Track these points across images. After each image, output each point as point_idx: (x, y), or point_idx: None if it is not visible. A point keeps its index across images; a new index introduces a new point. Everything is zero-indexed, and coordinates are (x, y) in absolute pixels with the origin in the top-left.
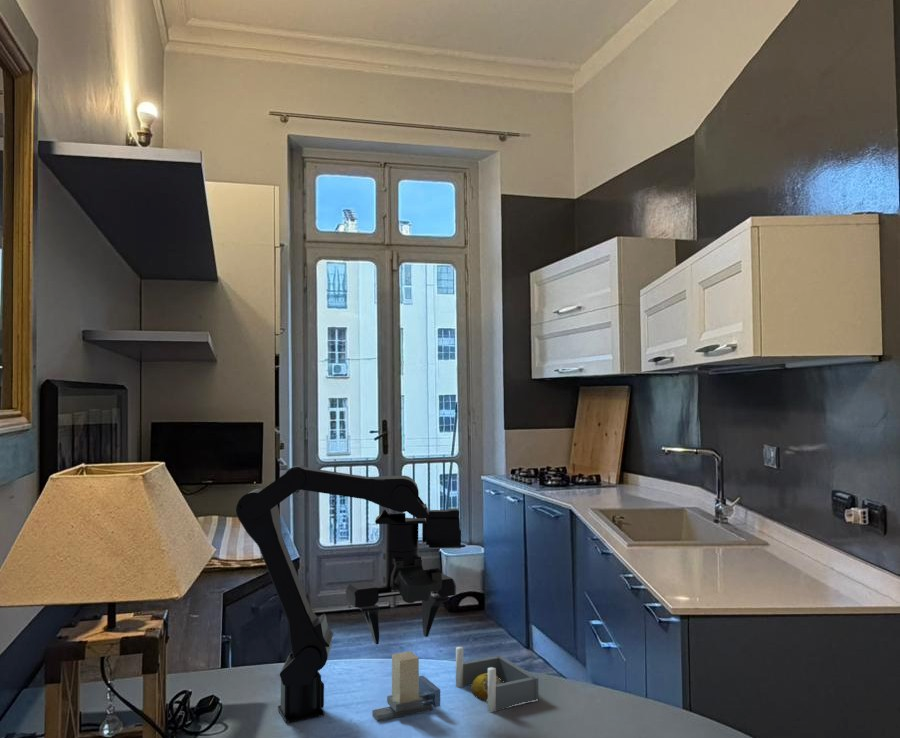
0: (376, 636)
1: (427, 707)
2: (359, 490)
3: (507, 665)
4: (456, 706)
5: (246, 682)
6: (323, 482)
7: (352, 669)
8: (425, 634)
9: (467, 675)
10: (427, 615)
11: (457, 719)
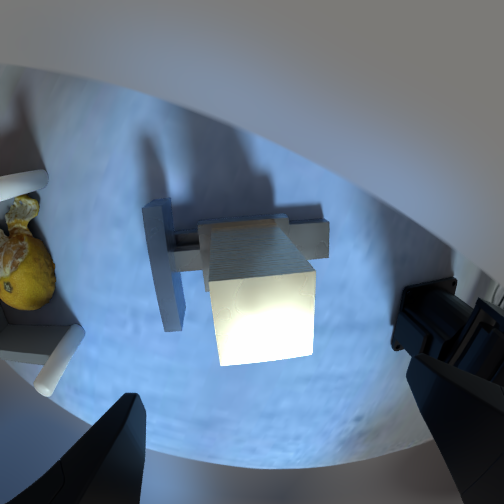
0: (449, 369)
1: (182, 231)
2: None
3: None
4: (105, 230)
5: (418, 416)
6: None
7: (271, 446)
8: (137, 404)
9: (53, 338)
10: (104, 494)
11: (126, 155)
